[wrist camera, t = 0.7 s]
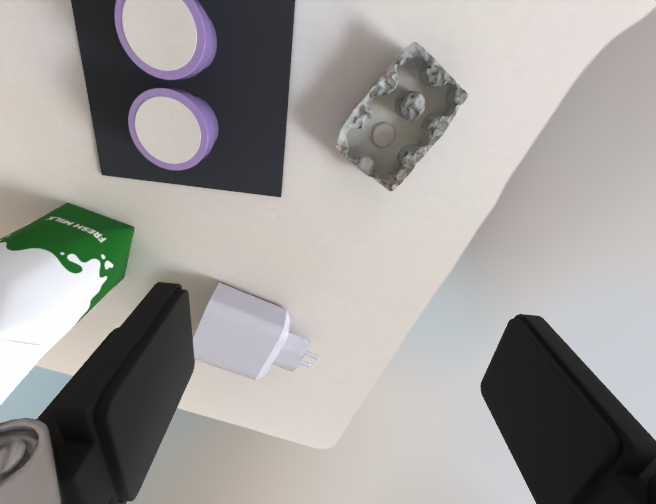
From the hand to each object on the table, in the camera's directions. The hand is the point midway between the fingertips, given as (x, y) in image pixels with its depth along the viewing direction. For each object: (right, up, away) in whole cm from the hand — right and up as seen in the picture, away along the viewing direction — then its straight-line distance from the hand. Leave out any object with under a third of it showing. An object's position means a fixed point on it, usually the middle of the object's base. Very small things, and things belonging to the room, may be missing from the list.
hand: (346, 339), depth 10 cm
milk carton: (-26, +4, +28) cm, 38 cm away
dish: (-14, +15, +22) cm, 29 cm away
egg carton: (+6, +15, +22) cm, 27 cm away
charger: (-9, -7, +33) cm, 35 cm away
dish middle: (-13, +21, +18) cm, 31 cm away
